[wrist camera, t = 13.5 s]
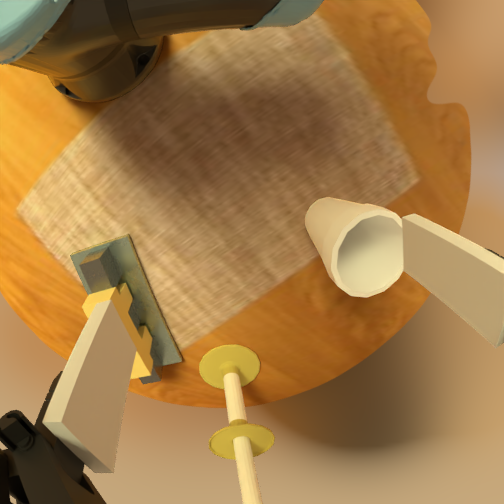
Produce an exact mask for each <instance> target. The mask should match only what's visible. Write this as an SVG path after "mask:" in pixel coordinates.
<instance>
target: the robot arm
mask: <svg viewBox="0 0 504 504" xmlns="http://www.w3.org/2000/svg"><path fill="white" fill-rule="evenodd" d="M323 1H324V0H0V64H2V65H3V64H9V65H13V66H17V67H20V68H24V69H27V70H31V71H34V72H38V73H41V74H45V75H47V76H48V78H49V79H50V81H51V83H52V84H53V86H54V87H55V88H56V89H57V90H58V91H59V92H60V93H62V94H63V95H65V96H67V97H69V98H71V99H74V100H78V101H82V102H87V103H100V102H105V101H109V100H113V99H116V98H118V97H120V96H122V95H124V94H126V93H128V92H129V91H131V90H132V89H134V88H135V87H136V86H137V85H139V84H140V83H141V82H142V81H143V80H144V79H145V78H146V77H147V76H148V74H149V73H150V72H151V70H152V69H153V68H154V66H155V64H156V62H157V60H158V58H159V56H160V53H161V50H162V46H163V39H164V36H165V35H172V34H179V33H188V32H197V31H207V30H221V29H240V30H253V29H255V28H258V27H287V26H292V25H295V24H297V23H299V22H301V21H302V20H304V19H307V18H308V17H310V16H311V15H312V14H313V13H314V12H315V11H316V10H317V9H318V8H319V6H320V5H321V4H322V2H323ZM402 232H403V271H405V272H406V273H407V274H408V275H410V276H411V277H412V278H414V279H415V280H416V281H417V282H419V283H420V284H421V285H422V286H424V287H425V288H426V289H427V290H429V291H430V292H431V293H432V294H434V295H435V296H436V297H438V298H439V299H440V300H441V301H442V302H443V303H444V304H446V305H447V306H448V307H449V308H450V309H452V310H453V311H454V312H455V313H456V314H458V315H459V316H460V317H461V318H462V319H463V320H465V321H466V322H467V323H468V324H469V325H470V326H471V327H473V328H474V329H475V330H476V331H477V332H478V333H479V334H480V335H482V336H483V337H484V338H485V339H486V340H487V341H488V342H489V343H491V344H492V345H493V346H494V347H495V348H497V347H498V346H500V345H501V344H502V343H504V257H502V256H499V254H497V253H495V252H493V251H492V250H489V249H486V248H483V247H481V246H479V245H477V244H475V243H473V242H471V241H470V240H468V239H466V238H464V237H462V236H460V235H458V234H456V233H454V232H452V231H450V230H448V229H446V228H444V227H442V226H440V225H438V224H436V223H434V222H432V221H430V220H428V219H425V218H423V217H421V216H419V215H417V214H415V213H414V214H411V215H407V216H404V217H402ZM136 351H137V348H136V347H135V345H134V343H133V341H132V339H131V337H130V336H129V334H128V332H127V330H126V328H125V326H124V324H123V322H122V320H121V318H120V316H119V314H118V312H117V310H116V308H115V306H114V304H113V302H112V300H108V301H104V302H100V303H97V304H96V305H95V307H94V309H93V311H92V313H91V315H90V317H89V319H88V321H87V323H86V325H85V327H84V329H83V331H82V333H81V335H80V337H79V339H78V341H77V343H76V345H75V347H74V349H73V351H72V353H71V355H70V357H69V360H68V362H67V364H66V366H65V368H64V371H61V372H60V373H59V374H58V376H57V377H56V378H55V379H54V380H53V382H52V385H51V387H50V389H49V393H48V394H47V396H46V398H45V400H46V401H44V403H43V406H42V408H41V410H40V413H39V415H38V418H37V420H36V423H35V425H33V424H32V423H31V422H30V421H29V420H28V419H27V418H26V417H25V416H24V414H23V413H22V412H21V411H18V410H13V411H10V412H8V413H6V414H5V415H4V416H3V417H2V418H1V419H0V441H1V442H2V443H3V444H4V445H5V446H6V447H7V448H8V449H6V450H1V449H0V504H13V503H11V502H10V496H9V495H11V496H12V497H14V498H15V499H16V502H17V504H106V502H105V501H104V500H103V498H102V497H101V495H100V494H99V492H98V491H97V489H96V488H95V487H94V485H93V484H92V482H91V481H90V479H89V477H88V476H87V475H86V474H84V473H83V469H84V464H85V465H86V466H88V467H89V468H90V469H91V470H92V471H93V472H95V473H114V467H115V460H116V453H117V446H118V441H119V435H120V428H121V423H122V417H123V412H124V407H125V402H126V396H127V392H128V387H129V382H130V377H131V373H132V368H133V364H134V359H135V355H136Z"/></svg>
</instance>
